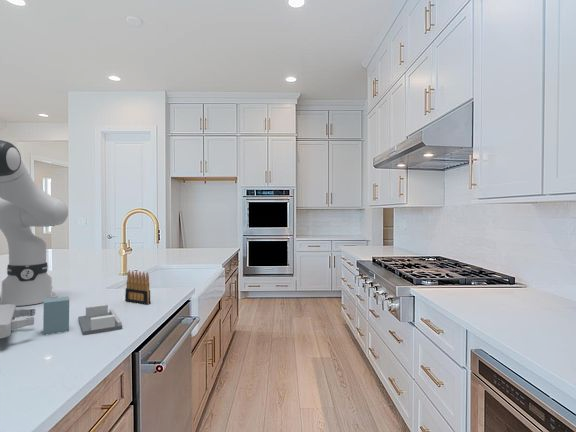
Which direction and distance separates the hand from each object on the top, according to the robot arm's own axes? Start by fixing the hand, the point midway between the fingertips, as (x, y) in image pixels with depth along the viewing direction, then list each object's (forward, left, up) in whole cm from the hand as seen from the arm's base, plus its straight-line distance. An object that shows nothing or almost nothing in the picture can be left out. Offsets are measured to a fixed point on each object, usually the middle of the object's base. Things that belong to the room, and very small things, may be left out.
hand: (34, 316), depth 96 cm
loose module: (0, +5, -5) cm, 7 cm away
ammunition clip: (-20, +31, -5) cm, 37 cm away
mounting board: (0, +16, -5) cm, 17 cm away
